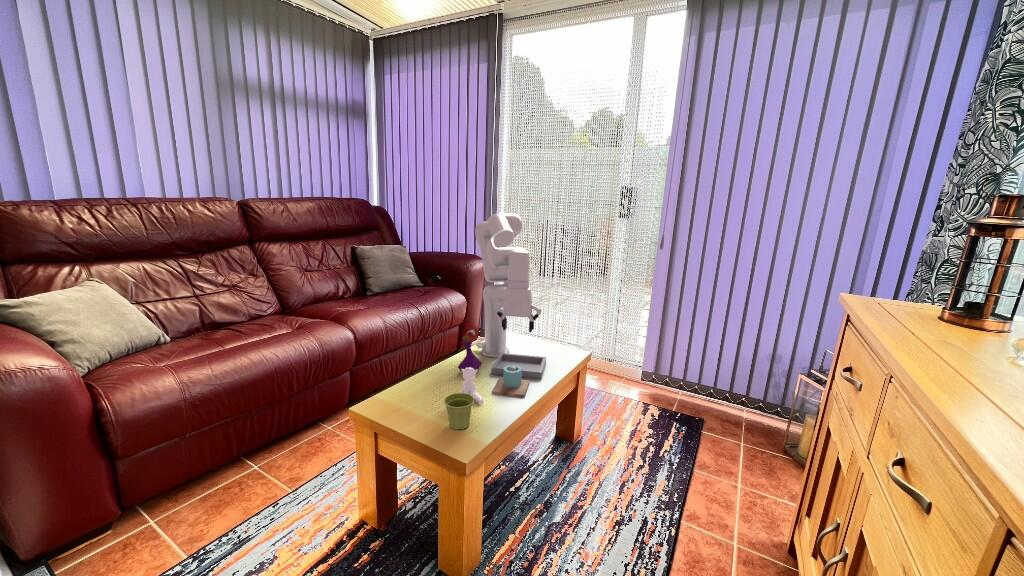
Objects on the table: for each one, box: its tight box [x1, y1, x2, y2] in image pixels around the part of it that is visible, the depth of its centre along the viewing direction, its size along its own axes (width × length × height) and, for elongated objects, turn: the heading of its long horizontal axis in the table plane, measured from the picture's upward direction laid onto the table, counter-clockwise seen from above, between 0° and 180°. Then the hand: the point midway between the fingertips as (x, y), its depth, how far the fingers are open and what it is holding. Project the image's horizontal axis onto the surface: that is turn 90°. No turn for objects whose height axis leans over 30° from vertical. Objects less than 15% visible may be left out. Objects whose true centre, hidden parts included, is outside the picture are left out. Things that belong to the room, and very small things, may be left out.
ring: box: [502, 365, 523, 388], centre depth 157 cm, size 7×8×6 cm
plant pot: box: [443, 392, 475, 430], centre depth 129 cm, size 9×9×9 cm
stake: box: [491, 366, 531, 398], centre depth 154 cm, size 12×12×8 cm
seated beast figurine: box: [459, 367, 484, 406], centre depth 145 cm, size 10×9×12 cm
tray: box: [491, 353, 547, 381], centre depth 172 cm, size 20×16×3 cm
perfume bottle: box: [457, 329, 483, 374], centre depth 166 cm, size 8×8×18 cm
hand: (517, 330), depth 152 cm, fingers open, 9 cm apart
